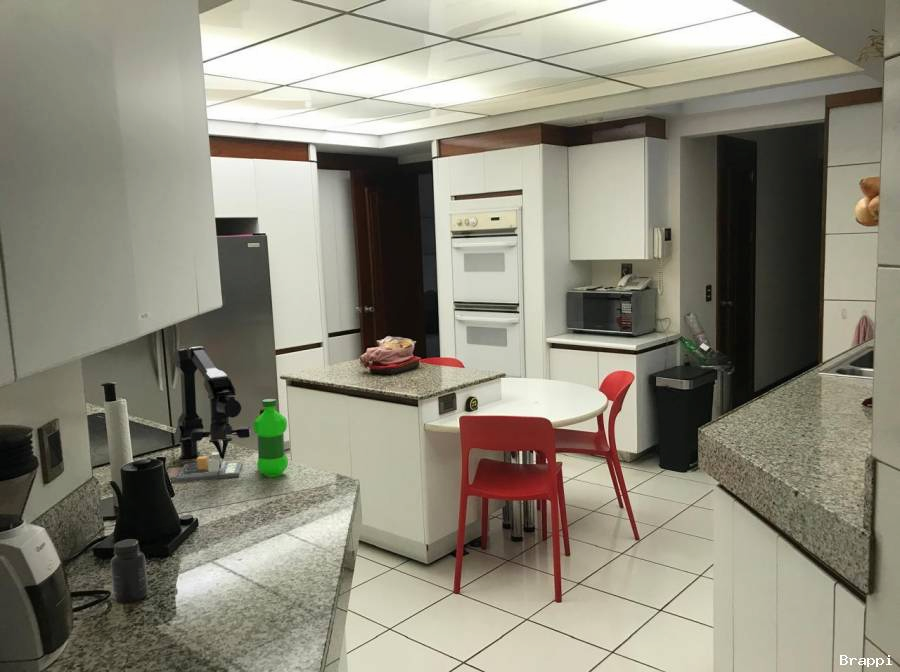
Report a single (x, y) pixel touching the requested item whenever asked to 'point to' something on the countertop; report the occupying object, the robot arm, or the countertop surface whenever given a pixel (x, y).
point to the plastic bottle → (271, 440)
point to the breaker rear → (215, 456)
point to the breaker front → (213, 465)
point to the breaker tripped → (202, 462)
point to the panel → (203, 472)
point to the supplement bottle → (128, 572)
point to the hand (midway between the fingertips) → (222, 458)
